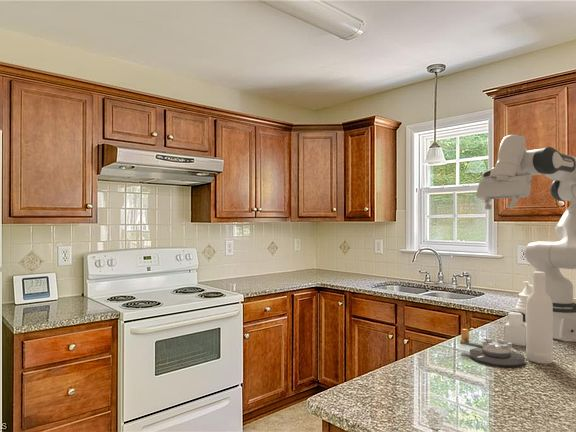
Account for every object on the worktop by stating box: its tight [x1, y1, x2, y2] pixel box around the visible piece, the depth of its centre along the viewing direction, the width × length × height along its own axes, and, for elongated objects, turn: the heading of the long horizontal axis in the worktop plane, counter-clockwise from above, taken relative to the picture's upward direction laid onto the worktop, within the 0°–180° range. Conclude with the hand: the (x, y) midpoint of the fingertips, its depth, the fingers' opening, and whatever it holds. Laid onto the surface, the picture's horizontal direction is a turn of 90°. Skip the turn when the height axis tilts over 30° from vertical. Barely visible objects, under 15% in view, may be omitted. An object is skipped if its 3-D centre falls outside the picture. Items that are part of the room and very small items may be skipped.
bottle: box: [525, 271, 554, 365], centre depth 147 cm, size 8×8×30 cm
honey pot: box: [515, 280, 533, 322], centre depth 209 cm, size 13×13×18 cm
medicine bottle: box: [503, 310, 526, 347], centre depth 168 cm, size 7×7×12 cm
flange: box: [469, 347, 526, 368], centre depth 148 cm, size 17×17×2 cm
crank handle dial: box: [459, 328, 513, 358], centre depth 151 cm, size 17×9×6 cm, turn 43°
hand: (498, 208), depth 161 cm, fingers open, 8 cm apart
